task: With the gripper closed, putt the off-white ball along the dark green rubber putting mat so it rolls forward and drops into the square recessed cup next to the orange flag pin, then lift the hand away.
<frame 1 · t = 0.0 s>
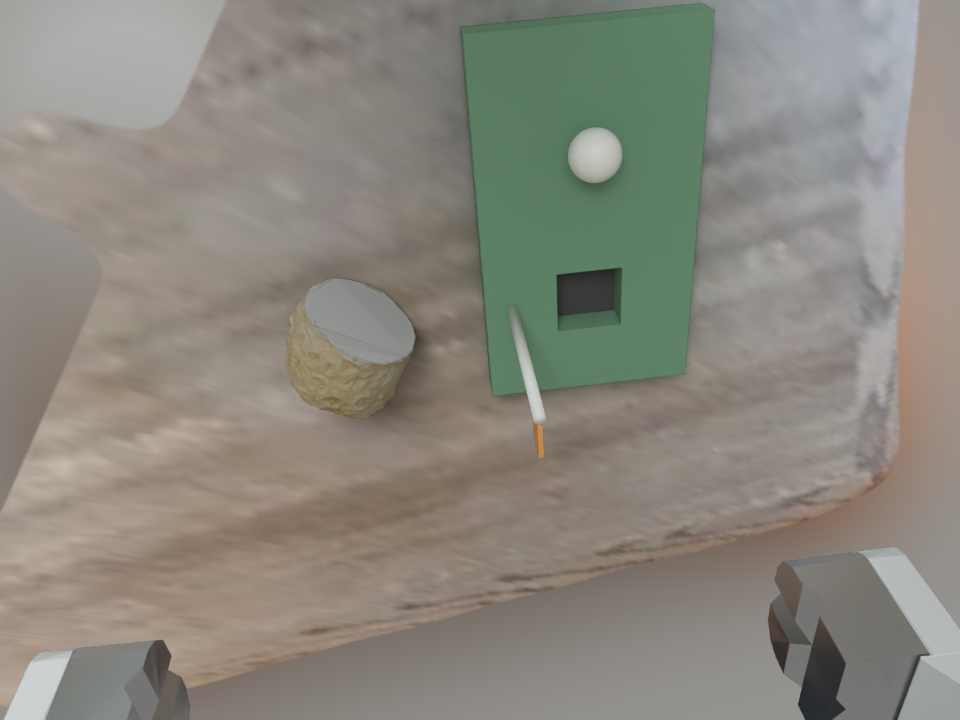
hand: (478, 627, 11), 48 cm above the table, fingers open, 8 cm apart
coral: (346, 320, 63), on the table
ball: (595, 155, 52), point 4 cm above the table, touching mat
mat: (582, 214, 59), on the table
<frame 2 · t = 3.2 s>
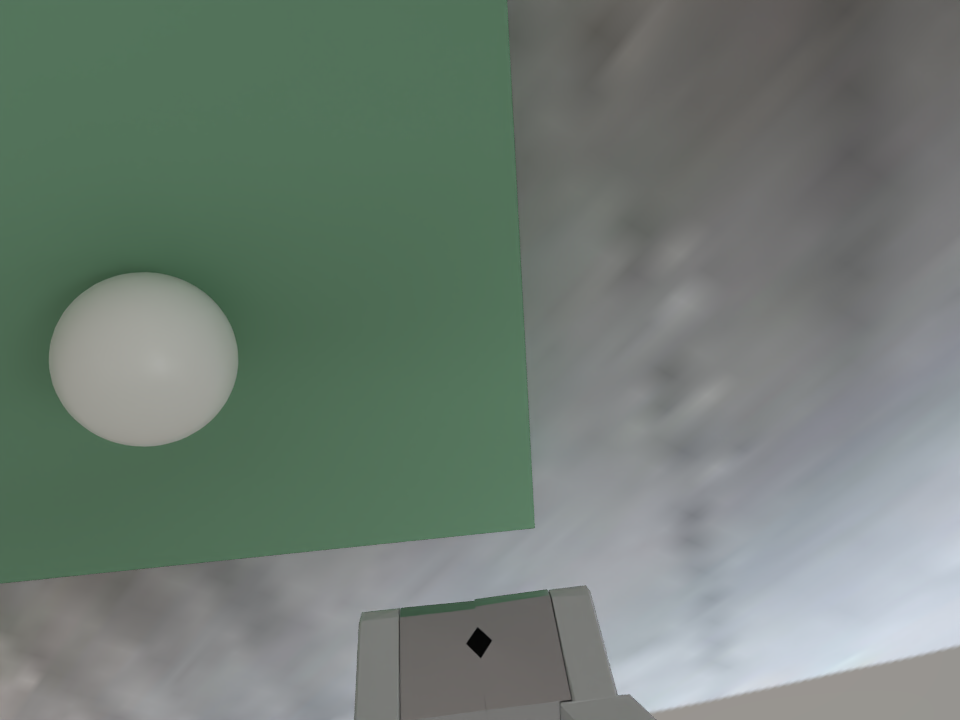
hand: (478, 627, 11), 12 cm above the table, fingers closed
ball: (147, 359, 16), point 4 cm above the table, touching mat
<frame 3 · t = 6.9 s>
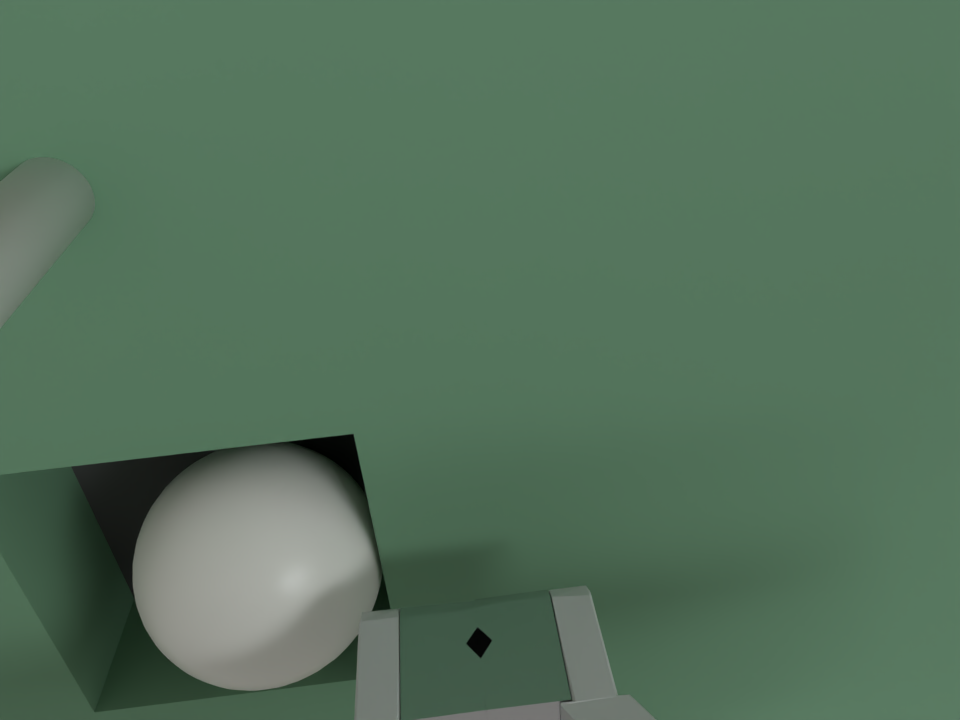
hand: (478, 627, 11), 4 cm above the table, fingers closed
ball: (263, 561, 12), point 2 cm above the table, tilted 20°, touching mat
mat: (586, 433, 14), on the table
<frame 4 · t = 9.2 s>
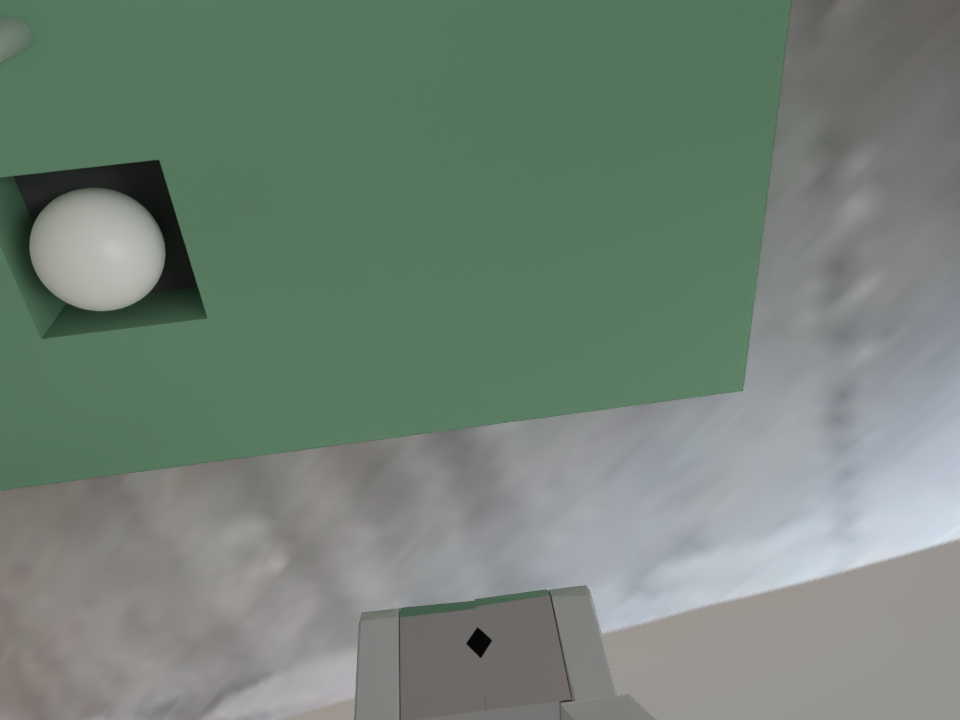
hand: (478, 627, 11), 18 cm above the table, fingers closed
ball: (99, 249, 23), point 2 cm above the table, tilted 45°, touching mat
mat: (311, 198, 25), on the table
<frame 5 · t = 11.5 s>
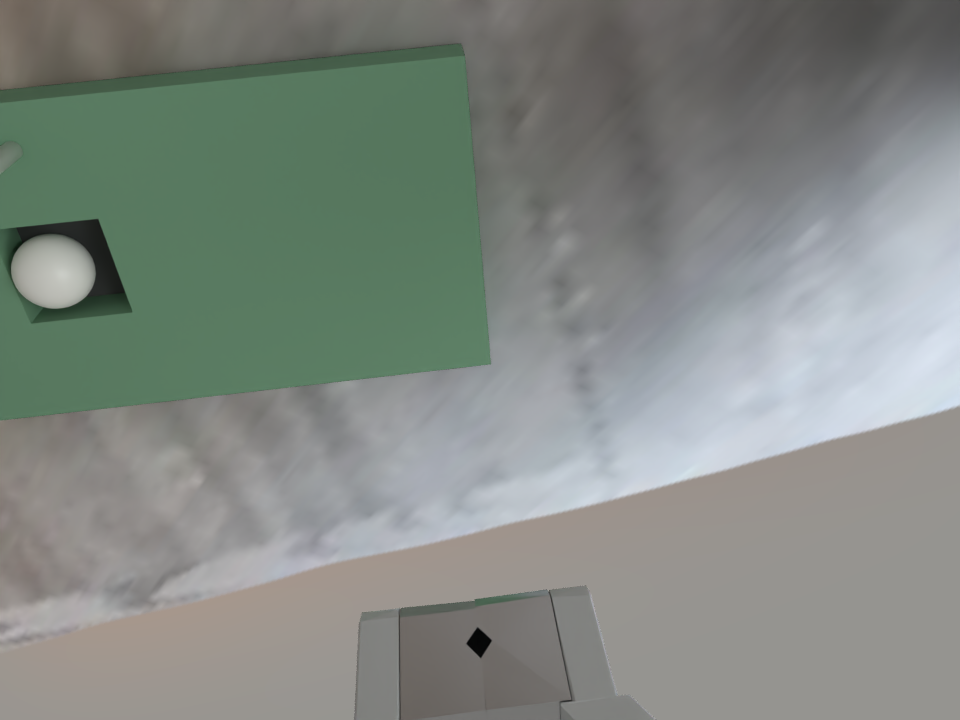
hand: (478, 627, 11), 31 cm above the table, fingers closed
ball: (54, 271, 38), point 2 cm above the table, tilted 62°, touching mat
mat: (200, 237, 40), on the table
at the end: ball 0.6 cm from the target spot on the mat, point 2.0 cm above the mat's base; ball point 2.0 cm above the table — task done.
